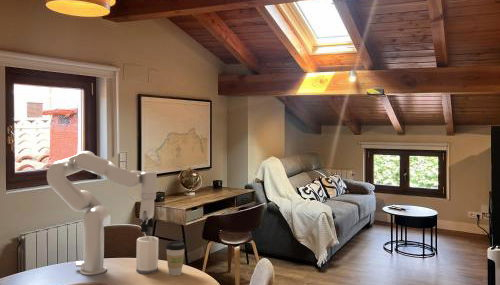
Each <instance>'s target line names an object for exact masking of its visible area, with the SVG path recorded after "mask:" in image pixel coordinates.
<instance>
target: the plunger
mask: <svg viewBox="0 0 500 285" xmlns="http://www.w3.org/2000/svg"><path fill="white" fill-rule="evenodd" d="M143 233H144V235H146V236H147V241H149V236H150V235H152V227H148V232H143Z"/></svg>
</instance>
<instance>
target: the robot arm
mask: <svg viewBox="0 0 500 285" xmlns="http://www.w3.org/2000/svg"><path fill="white" fill-rule="evenodd" d="M80 171H87V172H90V173H91V174H95V175H97V176H100V177H103V178H105V180H109V181H111V182H113V183H116V184H118V185H121V186H124V187H127V188H135V187H137V186H138V185H140V200H141V201H140V209H139V219H140V221H141V222H140V224H141V226H140V232H141V233H144V232H148V227H152V228H154V216H155V200H156V199H157V178H158V176H157V173H156V172H155V171H141V170H135V169H132V170H131V171H130V170H127V169H124V168H121V167H119V166H117V165H115V164H114V163H113V162H112V161H111V160H109V159H107V158H104V157H100V156H97V155H95V153H94V152H92V151H90V150H84V151H80V152H78V153H77V154H75V155H73V156H71V157H67V158H64V159H60V160H57V161H54V162H53V163H51V164H50V166H49V167H48V169H47V171H46V181H47V184H48V186H49V187H50V188H51V190H53V191H54V192H55V193H56V194H57V195H58V196H59V198H60V199H61V200H63V201H64V202H65V203H66V204H67V206H69V208H70V209H71V210H73V211H74V212H83V213H84V215H83V217H82V228H83V261H76V262H75V267H76V268H80V269H79V272H80V274H81V275H86V276H93V275H100V274H103V273H105V272H107V270H108V267H107V266H106V265H104V260H105V259H104V257H105V256H104V254H105V229H104V222H105V221H107V219H108V216H109V211H108V209H107V207H106V206H105V205H104V204H103V203H102V202H101V201H100V200H99V199H98V198H97V197H96V196H95V195H94V194H93V193H92V192H91V191H89V190H86V189H79V188H78V187H77V186H76V185H75V184H74V183H73V182H72V181H70V180H69V179H68V178H67V176H70V175H74V174H75V173H78V172H79V173H80Z"/></svg>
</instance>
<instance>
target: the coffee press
mask: <svg viewBox="0 0 500 285" xmlns="http://www.w3.org/2000/svg"><path fill="white" fill-rule="evenodd" d="M135 255H136V260H135V261H136V262H135V264H136V265H135V267H136V268H135V270H136V273H138V274H142V275H150V274H154V273H157V272H158V271H159V237H156V236H150V235H149V241H147V235H146V236H141V237H140V236H139V237H138V238H137V239H136V254H135Z"/></svg>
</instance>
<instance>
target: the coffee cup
mask: <svg viewBox="0 0 500 285" xmlns="http://www.w3.org/2000/svg"><path fill="white" fill-rule="evenodd" d="M186 248H187V247H186V244H185V243H184V242H183V241H177V240H174V241H169V242H167V243H166V246H165V249H166V260H167V268H168V275H169V276H175V277H176V276H180V275H181V274H182V272H183V266H184V258H185V249H186Z"/></svg>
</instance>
